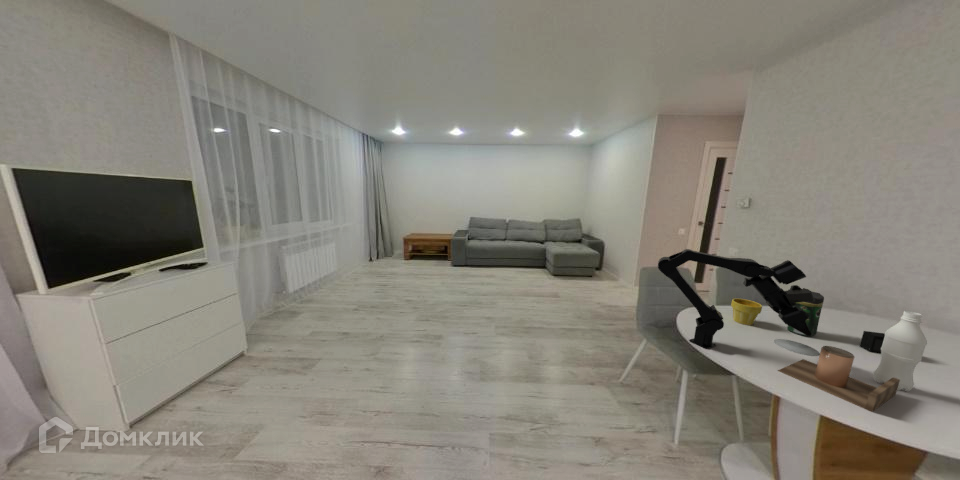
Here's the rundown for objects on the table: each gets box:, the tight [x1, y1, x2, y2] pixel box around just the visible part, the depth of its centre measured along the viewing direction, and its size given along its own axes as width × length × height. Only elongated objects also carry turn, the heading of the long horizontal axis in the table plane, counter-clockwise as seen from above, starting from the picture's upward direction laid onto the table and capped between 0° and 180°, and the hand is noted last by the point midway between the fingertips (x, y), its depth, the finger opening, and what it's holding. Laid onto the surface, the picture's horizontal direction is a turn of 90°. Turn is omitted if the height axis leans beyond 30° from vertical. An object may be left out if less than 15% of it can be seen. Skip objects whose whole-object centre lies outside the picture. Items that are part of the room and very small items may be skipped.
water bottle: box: [872, 310, 928, 392], centre depth 86 cm, size 7×7×25 cm
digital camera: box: [859, 330, 885, 355], centre depth 107 cm, size 10×5×7 cm, turn 70°
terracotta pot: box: [815, 345, 855, 388], centre depth 88 cm, size 6×6×10 cm
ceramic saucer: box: [773, 338, 820, 357], centre depth 109 cm, size 12×12×1 cm
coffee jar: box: [787, 290, 825, 337], centre depth 121 cm, size 10×8×19 cm
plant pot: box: [730, 298, 763, 326], centre depth 131 cm, size 10×10×10 cm
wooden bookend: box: [777, 358, 900, 413], centre depth 88 cm, size 18×19×6 cm
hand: (804, 329), depth 96 cm, fingers open, 9 cm apart
